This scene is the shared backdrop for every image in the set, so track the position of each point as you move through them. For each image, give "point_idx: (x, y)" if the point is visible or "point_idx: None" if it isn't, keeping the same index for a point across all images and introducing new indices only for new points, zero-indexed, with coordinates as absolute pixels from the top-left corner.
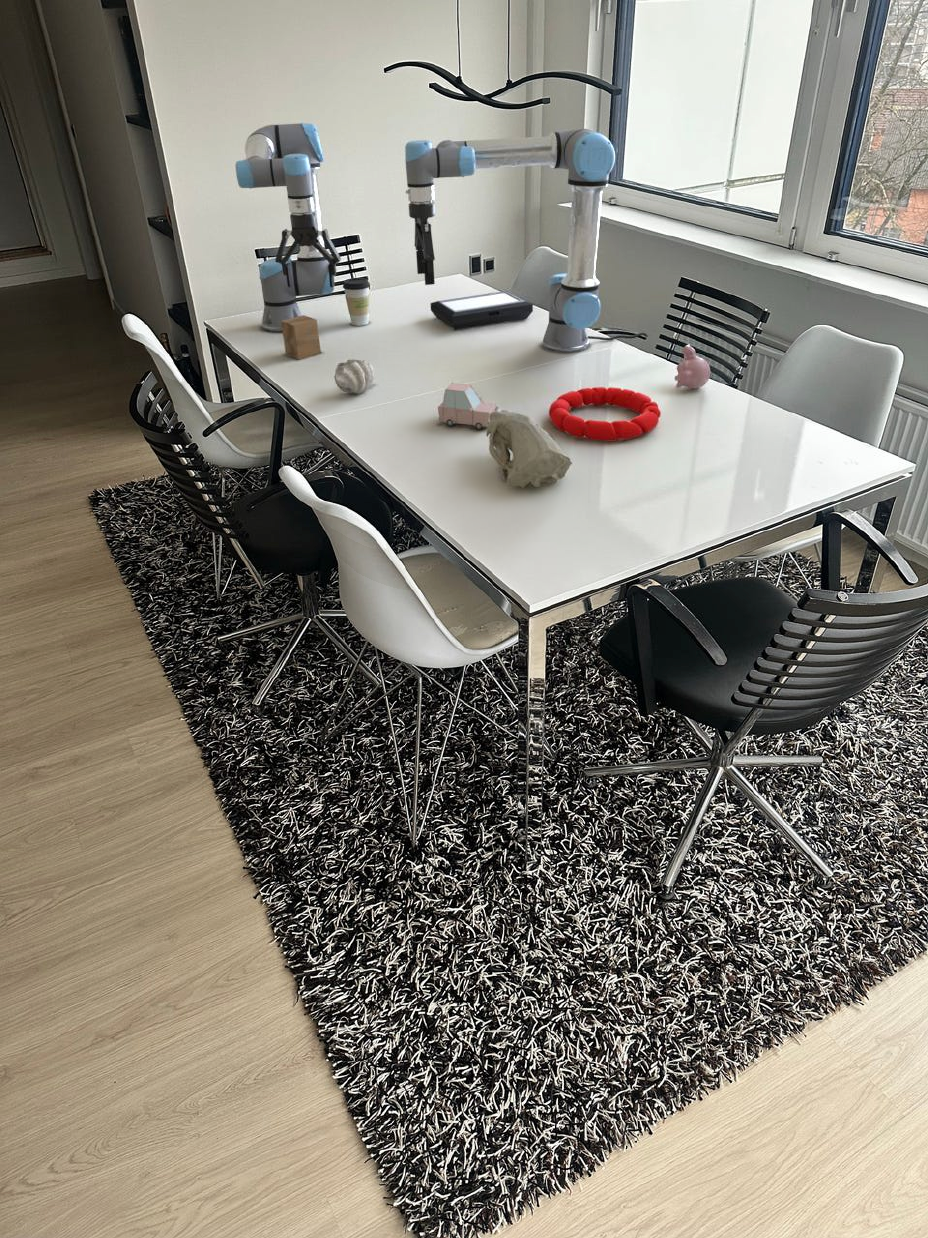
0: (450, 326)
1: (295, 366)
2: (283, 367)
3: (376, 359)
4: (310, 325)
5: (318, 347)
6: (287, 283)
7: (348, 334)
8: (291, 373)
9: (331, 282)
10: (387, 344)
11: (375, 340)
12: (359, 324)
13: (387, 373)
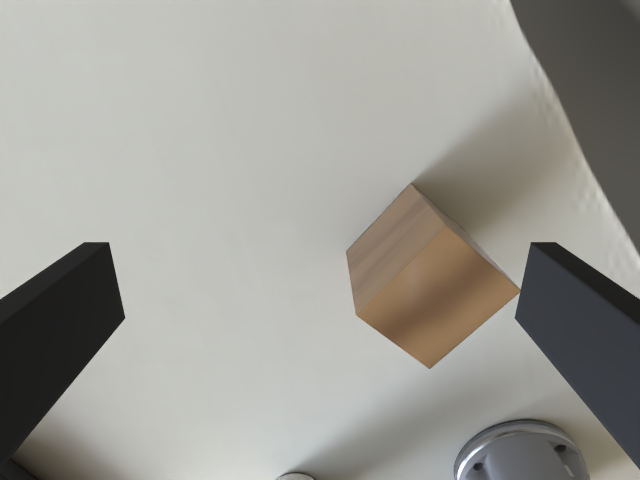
0: (21, 469)
1: (406, 105)
2: (451, 90)
3: (128, 197)
4: (378, 280)
5: (351, 255)
6: (575, 256)
7: (303, 412)
8: (405, 16)
9: (61, 261)
10: (150, 337)
11: (202, 368)
12: (290, 475)
13: (17, 37)
